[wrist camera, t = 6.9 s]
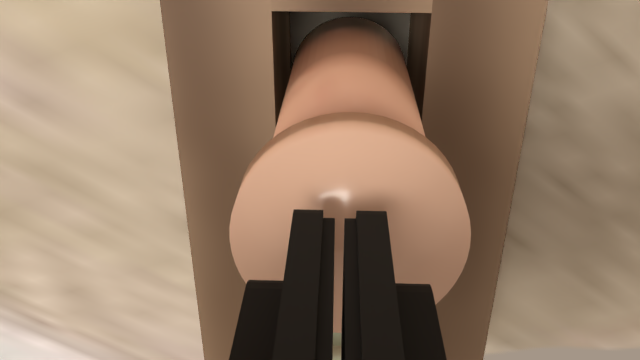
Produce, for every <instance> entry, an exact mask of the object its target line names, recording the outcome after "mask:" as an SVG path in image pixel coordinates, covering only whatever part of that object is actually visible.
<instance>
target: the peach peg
mask: <svg viewBox="0 0 640 360" xmlns="http://www.w3.org/2000/svg"><path fill="white" fill-rule="evenodd" d="M294 209H303V210H323V213H324V218H335V245H334V305H333V333H342V295H343V256H344V219H345V218H356V211H386V212H387V218H388V227H389V235H390V243H391V251H392V259H393V268H394V276H395V283H405V284H430V285H431V287H432V291H433V295H434V300H435V305H436V304H437V303H438V302H439V301H440V300H441V299H442V298H443V297H444V296H445V295H446V294H447V293H448V292H449V291H450V289H451V288H452V287H453V286H454V284H455V283H456V281H457V280H458V278H459V276H460V274H461V273H462V271H463V268H464V266H465V263H466V261H467V258H468V253H469V249H470V241H471V226H470V218H469V214H468V210H467V206H466V203H465V200H464V197H463V194H462V191H461V188H460V185H459V182H458V180H457V178H456V175H455V173H454V171H453V168H452V167H451V165H450V164H449V162H448V160H447V159H446V157H445V156H444V155H443V154H442V152H441V151H440V150H439V149H438V148H437V147H436V146H435V145H434V144H433V143H432V142H431V141H430V140H429V139H427V138H426V136H425V133H424V129H423V125H422V122H421V118H420V114H419V111H418V107H417V103H416V100H415V96H414V92H413V89H412V85H411V81H410V78H409V74H408V70H407V67H406V63H405V59H404V56H403V52H402V50H401V48H400V46H399V44H398V43H397V41H396V40H395V38H394V37H393V36H392V35H391V34H390V33H389V32H388V31H387V30H386V29H385V28H383V27H382V26H380V25H379V24H377V23H375V22H373V21H370V20H367V19H363V18H359V17H341V18H336V19H333V20H330V21H327V22H325V23H323V24H321V25H319V26H318V27H316V28H315V29H314V30H312V31H311V32H310V33H309V34H308V35H307V36H306V37H305V39H304V40H303V41H302V43H301V44H300V46H299V48H298V50H297V52H296V56H295V59H294V62H293V66H292V70H291V73H290V77H289V81H288V84H287V88H286V92H285V96H284V99H283V103H282V107H281V110H280V114H279V118H278V122H277V125H276V129H275V133H274V136H273V138H272V139H271V140H270V141H269V142H267V143H266V144H265V145H264V147H263V148H262V149H261V150H260V151H259V152H258V153H257V154H256V156H255V157H254V159H253V160H252V161H251V163H250V164H249V166H248V168H247V170H246V172H245V174H244V177H243V180H242V183H241V186H240V189H239V192H238V195H237V198H236V201H235V204H234V207H233V210H232V213H231V220H230V226H229V237H230V246H231V252H232V255H233V258H234V262H235V265H236V267H237V269H238V271H239V273H240V275H241V277H242V278H243V280H244V281H245V283H246V284H247V281H248V280H278V281H283V279H284V272H285V265H286V258H287V251H288V244H289V237H290V230H291V223H292V216H293V210H294Z"/></svg>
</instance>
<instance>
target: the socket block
mask: <svg viewBox="0 0 640 360" xmlns="http://www.w3.org/2000/svg"><path fill="white" fill-rule="evenodd" d="M160 5H161V13H162V21H163V29H164V37H165V45H166V53H167V61H168V70H169V78H170V86H171V94H172V102H173V110H174V118H175V126H176V134H177V142H178V150H179V158H180V166H181V174H182V182H183V190H184V198H185V206H186V214H187V222H188V230H189V239H190V247H191V255H192V263H193V271H194V279H195V287H196V295H197V303H198V311H199V319H200V327H201V335H202V343H203V351H204V359H205V360H229V357H230V352H231V348H232V344H233V339H234V335H235V331H236V326H237V322H238V317H239V313H240V309H241V304H242V300H243V295H244V291H245V287H246V283H245V281H244V280H243V278H242V277H241V275H240V273H239V271H238V269H237V267H236V265H235V262H234V258H233V255H232V252H231V246H230V237H229V226H230V220H231V213H232V210H233V207H234V204H235V201H236V198H237V195H238V192H239V189H240V186H241V183H242V180H243V177H244V174H245V172H246V170H247V168H248V166H249V164H250V163H251V161H252V160H253V159H254V157H255V156H256V154H257V153H258V152H259V151H260V150H261V149H262V148H263V147H264V145H265V144H266V143H267V142H269V141H270V140H271V139H272V138H273V136H274V133H275V129H276V125H277V122H278V118H279V114H280V110H281V107H282V103H283V99H284V96H285V92H286V88H287V84H288V81H289V77H290V73H291V66H290V21H289V11H306V12H389V13H411V17H410V30H409V43H408V57H407V70H408V74H409V78H410V81H411V85H412V89H413V92H414V96H415V100H416V103H417V107H418V111H419V114H420V118H421V122H422V125H423V129H424V133H425V136H426V138H427V139H429V140H430V141H431V142H432V143H433V144H434V145H435V146H436V147H437V148H438V149H439V150H440V151H441V152H442V154H443V155H444V156H445V157H446V159H447V160H448V162H449V164H450V165H451V167H452V168H453V171H454V173H455V175H456V178H457V180H458V182H459V185H460V188H461V191H462V194H463V197H464V200H465V203H466V206H467V210H468V214H469V218H470V226H471V241H470V249H469V253H468V258H467V261H466V263H465V266H464V268H463V271H462V273H461V274H460V276H459V278H458V280H457V281H456V283H455V284H454V286H453V287H452V288H451V289H450V291H449V292H448V293H447V294H446V295H445V296H444V297H443V298H442V299H441V300H440V301H439V302H438V303H437V304H436V310H437V315H438V319H439V324H440V329H441V334H442V339H443V344H444V349H445V354H446V358H447V360H483V356H484V351H485V345H486V340H487V334H488V329H489V323H490V318H491V312H492V307H493V301H494V296H495V290H496V285H497V279H498V274H499V268H500V263H501V257H502V252H503V246H504V241H505V235H506V230H507V224H508V219H509V213H510V208H511V202H512V197H513V191H514V186H515V180H516V175H517V169H518V164H519V158H520V153H521V147H522V142H523V136H524V131H525V125H526V120H527V114H528V109H529V103H530V98H531V92H532V87H533V82H534V76H535V71H536V65H537V60H538V54H539V49H540V43H541V38H542V32H543V27H544V21H545V16H546V10H547V5H548V0H160Z"/></svg>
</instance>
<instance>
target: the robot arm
mask: <svg viewBox="0 0 640 360" xmlns="http://www.w3.org/2000/svg"><path fill="white" fill-rule="evenodd" d="M334 245H335V218H324V213H323V210H303V209H294V210H293V216H292V223H291V230H290V237H289V244H288V251H287V258H286V265H285V272H284V279H283V281H278V280H248V281H247V284H246V287H245V291H244V295H243V300H242V304H241V309H240V313H239V317H238V322H237V326H236V331H235V335H234V339H233V344H232V348H231V352H230V357H229V360H332V359H333V305H334ZM341 360H447V358H446V354H445V349H444V344H443V339H442V334H441V329H440V324H439V319H438V315H437V310H436V305H435V300H434V295H433V291H432V287H431V285H430V284H405V283H395V276H394V268H393V259H392V251H391V243H390V235H389V227H388V218H387V212H386V211H356V218H345V219H344V256H343V295H342V334H341Z"/></svg>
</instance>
